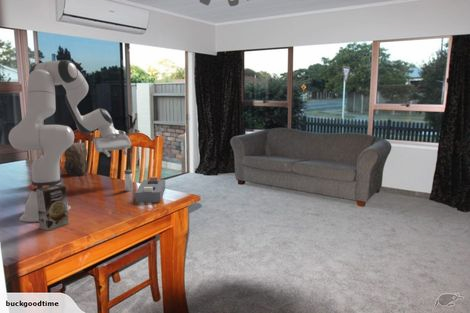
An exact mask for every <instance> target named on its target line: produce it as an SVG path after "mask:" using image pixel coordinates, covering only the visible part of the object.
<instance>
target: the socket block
mask: <svg viewBox="0 0 470 313" xmlns="http://www.w3.org/2000/svg"><path fill="white" fill-rule="evenodd" d="M158 177H159V176H149V179H143V180H142V182H141V183H140V184H139V186H138V188H137V189H136V191H135V193H134V194H135V195H134V196H135V204H137V203H139V204H141V203H161V201H162V199H163V196H164V193H165V191H166V179H158Z"/></svg>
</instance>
